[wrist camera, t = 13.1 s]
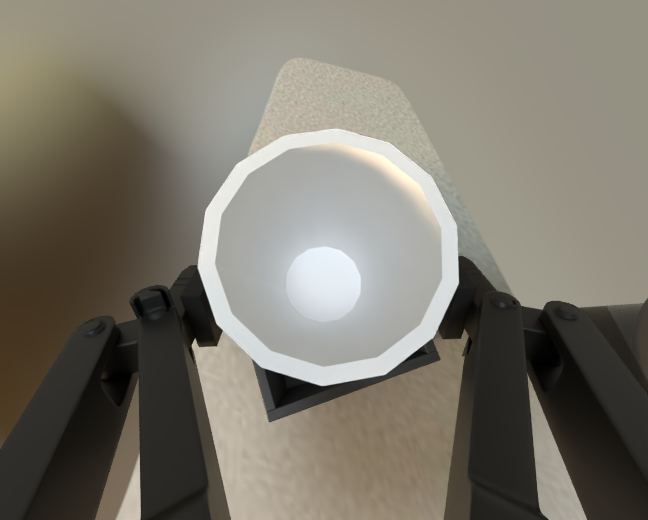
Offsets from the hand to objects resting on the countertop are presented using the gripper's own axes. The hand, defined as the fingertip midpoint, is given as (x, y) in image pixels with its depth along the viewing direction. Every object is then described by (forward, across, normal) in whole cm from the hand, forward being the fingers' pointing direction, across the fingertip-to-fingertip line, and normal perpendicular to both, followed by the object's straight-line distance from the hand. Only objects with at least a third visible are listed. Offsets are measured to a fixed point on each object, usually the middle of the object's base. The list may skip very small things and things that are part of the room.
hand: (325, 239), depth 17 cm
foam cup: (+4, 0, -6) cm, 7 cm away
